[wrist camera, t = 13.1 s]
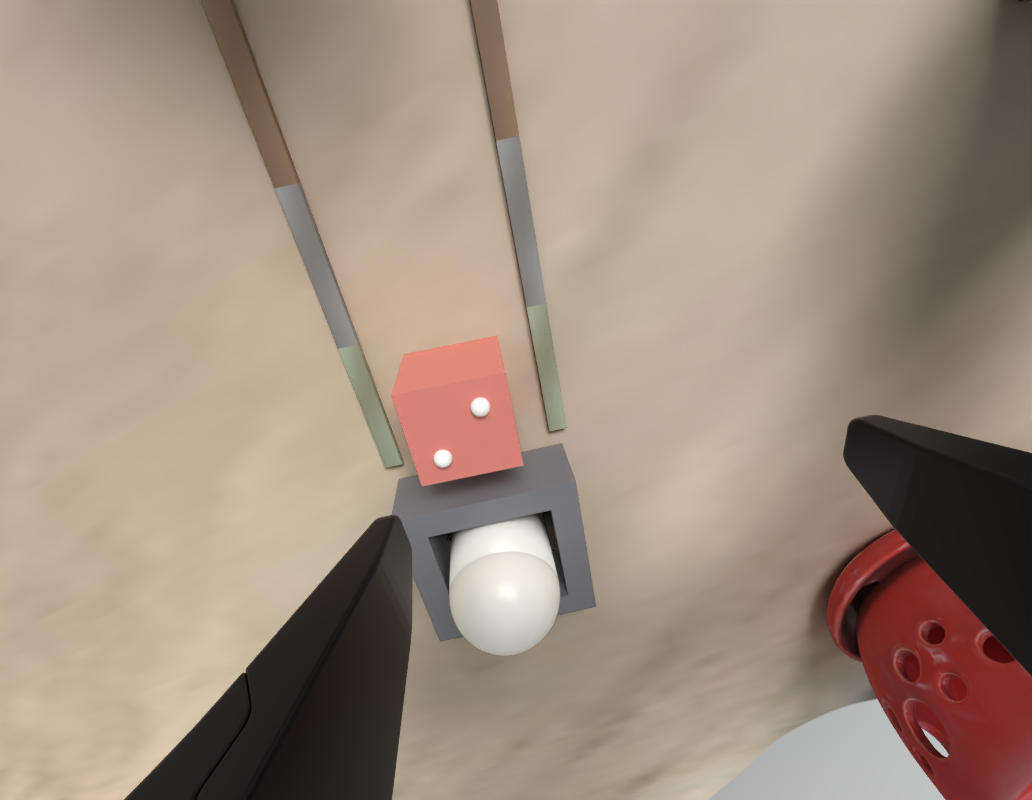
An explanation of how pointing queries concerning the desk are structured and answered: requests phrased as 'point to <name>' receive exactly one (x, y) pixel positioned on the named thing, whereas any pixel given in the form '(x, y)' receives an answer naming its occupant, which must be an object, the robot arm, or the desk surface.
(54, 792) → the desk surface
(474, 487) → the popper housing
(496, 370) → the die
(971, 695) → the plant pot
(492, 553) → the dome
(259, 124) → the track
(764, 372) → the desk surface
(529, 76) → the desk surface
